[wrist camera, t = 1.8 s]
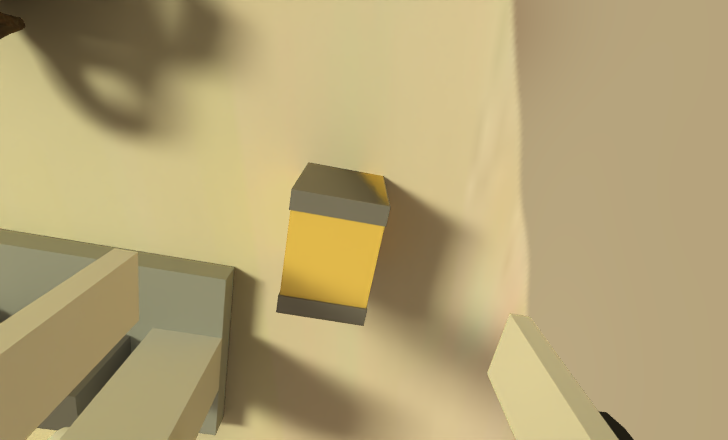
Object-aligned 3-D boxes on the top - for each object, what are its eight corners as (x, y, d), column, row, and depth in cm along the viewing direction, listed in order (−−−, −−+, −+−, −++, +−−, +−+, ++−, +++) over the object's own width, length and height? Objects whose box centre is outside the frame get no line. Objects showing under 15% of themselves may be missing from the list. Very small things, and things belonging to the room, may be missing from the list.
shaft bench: (-87, 214, 21) (-491, 338, 11) (247, 269, 22) (155, 422, 12) (-44, 380, 25) (-308, 576, 15) (234, 417, 26) (157, 620, 16)
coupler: (294, 261, 22) (276, 312, 17) (308, 162, 20) (291, 189, 15) (363, 272, 22) (363, 325, 17) (383, 176, 20) (390, 206, 15)
